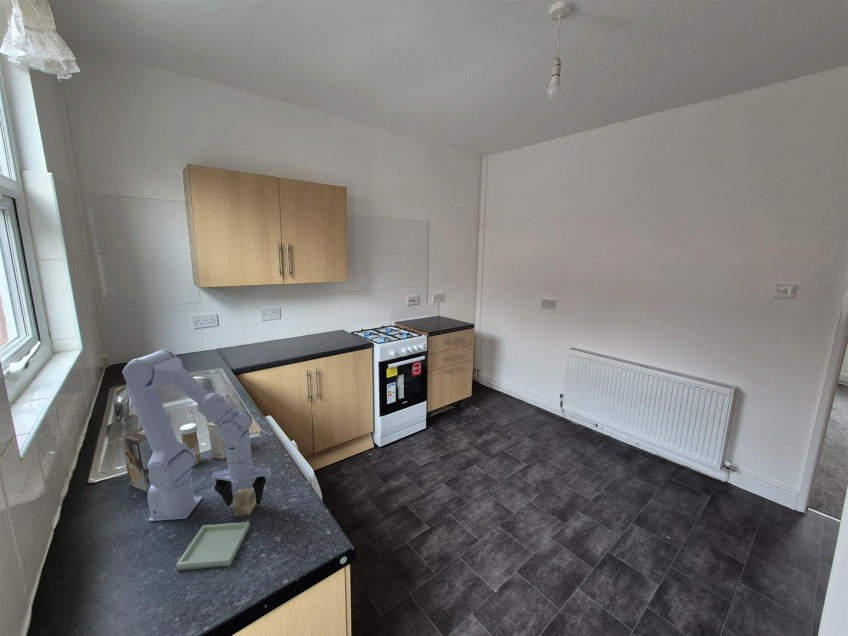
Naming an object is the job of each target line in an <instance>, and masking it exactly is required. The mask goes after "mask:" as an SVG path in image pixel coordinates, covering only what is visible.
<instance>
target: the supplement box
mask: <svg viewBox="0 0 848 636" xmlns="http://www.w3.org/2000/svg"><path fill="white" fill-rule="evenodd" d="M207 429H208V435H209V442H210V449H211V457H214V458H222V459H224V458H225V457H227V455H226V447H225V445H224V441H223V439H222V438H221V437H220V436H219V434H218V431H219V430H220V429H219V428H218V427H217V426H216V425H215V424H213V423H212V422H211V421H209V422H208V423H207Z"/></svg>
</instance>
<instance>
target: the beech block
mask: <svg viewBox="0 0 848 636" xmlns="http://www.w3.org/2000/svg"><path fill="white" fill-rule="evenodd" d="M232 504H233V505H232V506H233V515H234V517H239V516H250V515H251V514H252V512H253V510H254V508H255V507H256V505H257V503H256V495H255V491H254V488H253V487H252V488H240V489H239V488H238V490H237V492H236V493H235V495H234V496H233V502H232Z"/></svg>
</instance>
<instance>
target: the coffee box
mask: <svg viewBox="0 0 848 636" xmlns="http://www.w3.org/2000/svg"><path fill="white" fill-rule="evenodd" d="M120 440H121V445H122V452H123V455H124V457H123V458H124V461H125V466H126V473H127V477H128V482H129V486H131V485H132V487H134V488H136V489H139V490H141V491H144V492H146V493H148V491H149V488H150V486H151V485H152V484H151V483H150V481H149V470H148V467H147V465H148V463H149V461H150V458H151V456H152V454H153V451H152V449H151V447H150V444H149V442H148V439H147V437H146V435H145V432H144V430H143V428H142V427H140V428H137V429H136V430H133V431H130V432H127V433H126V434H124V435H122V436H120Z"/></svg>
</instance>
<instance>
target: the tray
mask: <svg viewBox="0 0 848 636" xmlns="http://www.w3.org/2000/svg"><path fill="white" fill-rule="evenodd" d="M250 524H251V523H250V521H242V522H231V523H230V522H229V523H219V524H218V523H217V524H203V525H202V526H201V528H200V529H199V530H198V531H197V533H196V535H195V537H193V539H192V541H191V542H190V544H189V545H188V546H187V548H186V550H185V551H184V553H183V554H182V555H181V557H180V558H179V560H178V561H177V563H176V564H175V567H176V570H177V571H186V570H187V571H189V570H197V569H198V570H199V569H209V568H219V567H221V568H222V567H230V566H231V565H232V563H233V561H234V559H235V557H236V556H237V553H238V551H239V549H240V547H241V546H242V544H243V541H244V540H245V538H246V535H248V534H247V533H248V531H249V530H250V528H251V525H250Z"/></svg>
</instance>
